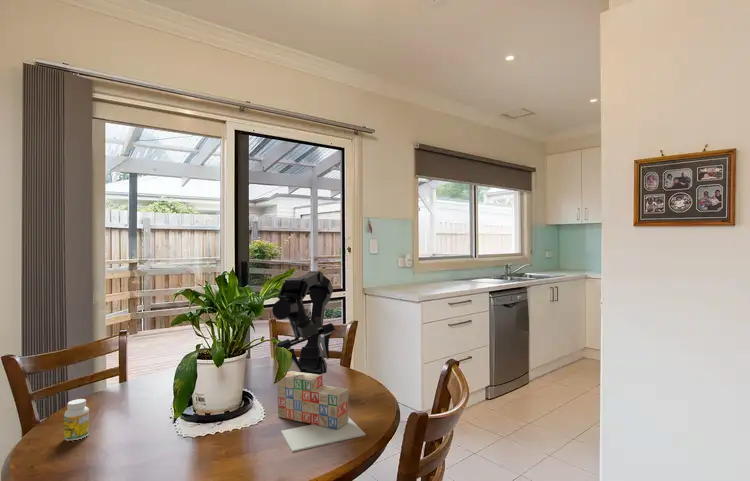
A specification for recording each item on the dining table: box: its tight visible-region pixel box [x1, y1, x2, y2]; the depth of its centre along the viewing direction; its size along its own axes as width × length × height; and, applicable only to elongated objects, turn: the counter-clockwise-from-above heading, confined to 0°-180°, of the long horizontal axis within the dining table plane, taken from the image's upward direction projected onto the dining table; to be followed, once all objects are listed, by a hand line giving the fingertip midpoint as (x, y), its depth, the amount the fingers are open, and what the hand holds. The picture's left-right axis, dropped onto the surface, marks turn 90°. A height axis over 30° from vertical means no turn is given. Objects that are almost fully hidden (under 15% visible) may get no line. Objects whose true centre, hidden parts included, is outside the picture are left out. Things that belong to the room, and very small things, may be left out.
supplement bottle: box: [63, 398, 90, 441], centre depth 108 cm, size 5×5×10 cm
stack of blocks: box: [277, 370, 350, 429], centre depth 118 cm, size 21×6×12 cm, turn 62°
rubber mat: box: [280, 416, 367, 453], centre depth 109 cm, size 12×20×1 cm, turn 116°
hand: (314, 364), depth 124 cm, fingers open, 9 cm apart
